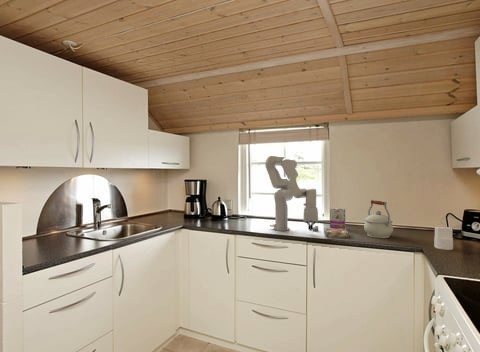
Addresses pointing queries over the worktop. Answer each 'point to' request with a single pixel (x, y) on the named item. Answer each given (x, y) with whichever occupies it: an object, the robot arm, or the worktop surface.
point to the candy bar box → (337, 218)
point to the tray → (329, 231)
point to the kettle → (378, 223)
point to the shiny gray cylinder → (315, 228)
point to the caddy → (338, 233)
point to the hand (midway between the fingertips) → (310, 230)
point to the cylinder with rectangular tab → (443, 238)
